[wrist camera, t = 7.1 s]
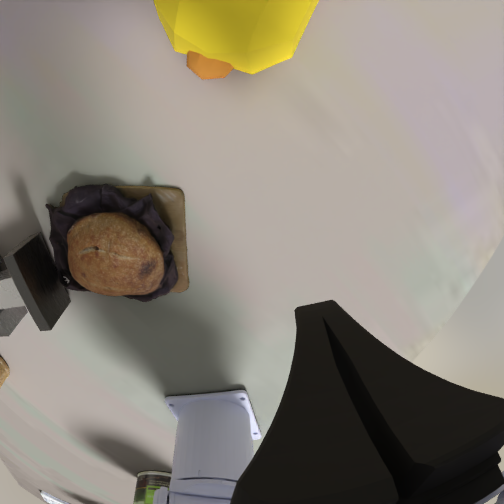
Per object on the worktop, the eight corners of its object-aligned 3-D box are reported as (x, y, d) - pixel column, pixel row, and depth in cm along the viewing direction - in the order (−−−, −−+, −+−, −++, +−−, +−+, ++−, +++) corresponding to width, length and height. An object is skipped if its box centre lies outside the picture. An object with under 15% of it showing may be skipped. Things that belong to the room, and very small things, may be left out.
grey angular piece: (70, 301, 20) (50, 330, 17) (0, 311, 21) (-19, 334, 17) (40, 232, 18) (12, 255, 14) (-27, 256, 18) (-50, 276, 15)
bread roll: (188, 179, 18) (177, 193, 15) (191, 294, 22) (184, 326, 18) (46, 184, 17) (17, 199, 14) (65, 286, 21) (45, 313, 18)
